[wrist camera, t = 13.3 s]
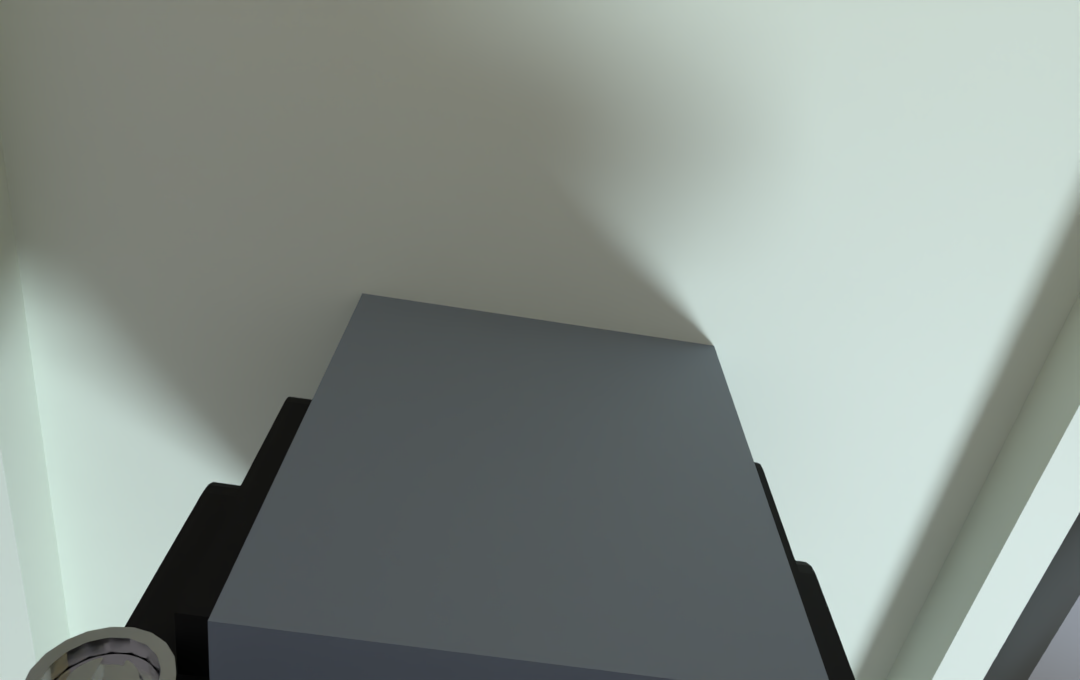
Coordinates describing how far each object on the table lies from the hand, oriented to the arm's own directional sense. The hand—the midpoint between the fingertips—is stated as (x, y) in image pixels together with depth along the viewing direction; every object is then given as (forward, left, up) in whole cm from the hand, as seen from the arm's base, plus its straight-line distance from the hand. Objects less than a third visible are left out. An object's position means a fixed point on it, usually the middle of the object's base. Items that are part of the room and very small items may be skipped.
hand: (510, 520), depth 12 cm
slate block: (0, 0, -1) cm, 1 cm away
